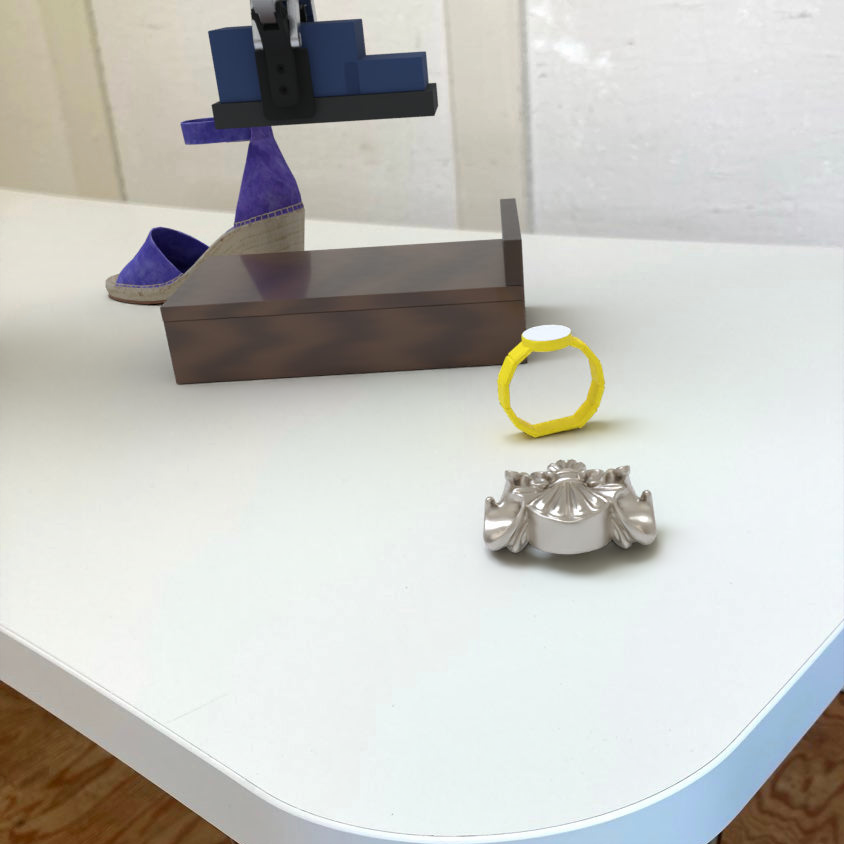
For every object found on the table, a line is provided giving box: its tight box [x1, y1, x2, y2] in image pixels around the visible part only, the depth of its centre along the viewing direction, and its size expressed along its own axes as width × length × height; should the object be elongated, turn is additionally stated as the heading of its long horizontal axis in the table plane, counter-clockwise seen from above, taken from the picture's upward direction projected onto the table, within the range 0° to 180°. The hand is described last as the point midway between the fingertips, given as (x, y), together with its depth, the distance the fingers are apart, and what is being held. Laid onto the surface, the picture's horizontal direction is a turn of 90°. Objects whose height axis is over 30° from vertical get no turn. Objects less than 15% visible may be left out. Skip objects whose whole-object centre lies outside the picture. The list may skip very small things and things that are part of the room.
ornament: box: [482, 458, 658, 555], centre depth 49 cm, size 8×7×4 cm
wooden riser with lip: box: [159, 197, 529, 385], centre depth 76 cm, size 24×14×8 cm, turn 91°
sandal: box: [105, 116, 306, 305], centre depth 89 cm, size 8×20×15 cm, turn 64°
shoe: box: [207, 18, 439, 130], centre depth 69 cm, size 14×6×6 cm, turn 91°
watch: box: [496, 324, 606, 439], centre depth 60 cm, size 6×3×6 cm, turn 106°
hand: (298, 109), depth 70 cm, fingers closed on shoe, 5 cm apart
